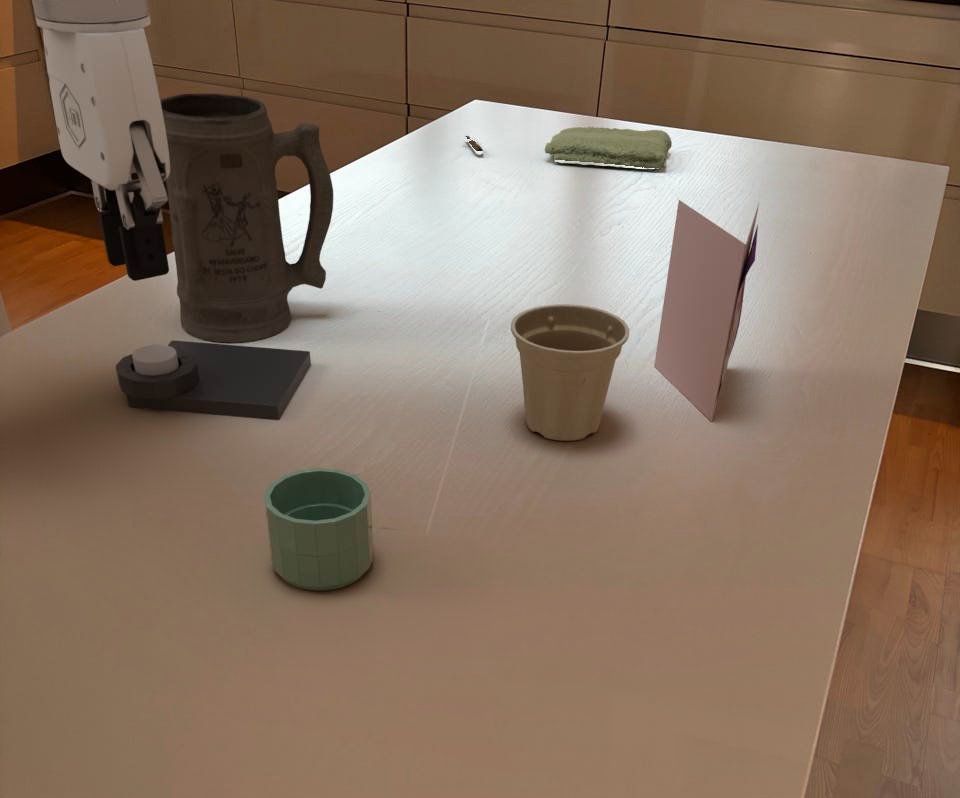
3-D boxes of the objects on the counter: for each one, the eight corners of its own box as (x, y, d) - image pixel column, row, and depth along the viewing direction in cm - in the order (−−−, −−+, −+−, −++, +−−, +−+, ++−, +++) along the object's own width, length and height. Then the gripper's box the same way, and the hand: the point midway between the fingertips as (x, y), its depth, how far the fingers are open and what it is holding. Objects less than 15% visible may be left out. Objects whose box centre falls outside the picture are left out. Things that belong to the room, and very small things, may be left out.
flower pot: (536, 461, 82) (544, 359, 76) (487, 409, 88) (491, 312, 83) (637, 440, 85) (652, 341, 80) (583, 392, 92) (593, 297, 86)
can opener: (483, 156, 150) (483, 148, 149) (467, 156, 150) (468, 148, 149) (475, 140, 157) (475, 132, 156) (460, 141, 157) (460, 132, 156)
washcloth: (556, 141, 158) (558, 119, 156) (671, 152, 156) (674, 129, 153) (542, 164, 148) (543, 140, 146) (664, 175, 146) (667, 151, 144)
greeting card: (721, 423, 88) (757, 246, 78) (636, 409, 89) (661, 233, 80) (736, 369, 96) (769, 203, 87) (657, 357, 98) (682, 192, 88)
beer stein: (182, 350, 96) (161, 115, 83) (165, 307, 103) (144, 86, 91) (342, 341, 101) (345, 119, 89) (315, 301, 108) (314, 91, 96)
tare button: (128, 375, 86) (125, 360, 85) (144, 357, 88) (141, 342, 87) (170, 379, 85) (167, 363, 84) (184, 361, 88) (182, 346, 87)
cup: (260, 588, 68) (251, 518, 64) (287, 532, 73) (280, 464, 70) (361, 598, 67) (357, 527, 64) (381, 540, 73) (379, 472, 69)
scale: (111, 411, 86) (103, 377, 84) (161, 353, 95) (155, 322, 93) (276, 425, 85) (272, 391, 83) (311, 365, 94) (308, 334, 92)
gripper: (-7, -14, 73) (54, 248, 84) (82, 22, 63) (137, 313, 75) (96, -20, 76) (140, 232, 88) (195, 13, 67) (230, 291, 78)
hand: (138, 267), depth 81 cm, fingers open, 3 cm apart
